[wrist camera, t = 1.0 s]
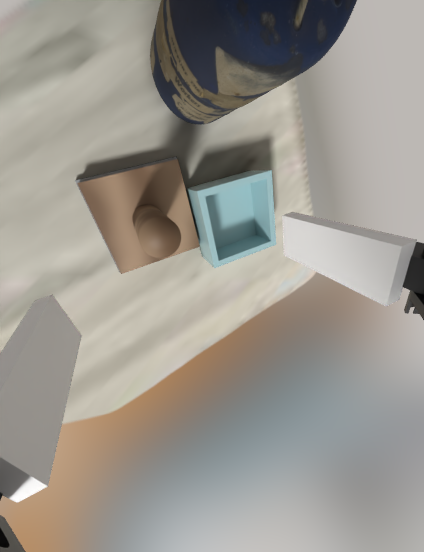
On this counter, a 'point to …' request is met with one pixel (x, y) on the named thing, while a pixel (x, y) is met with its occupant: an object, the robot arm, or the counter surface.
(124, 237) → the lid
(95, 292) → the counter surface
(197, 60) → the canister
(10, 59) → the counter surface
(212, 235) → the dish
